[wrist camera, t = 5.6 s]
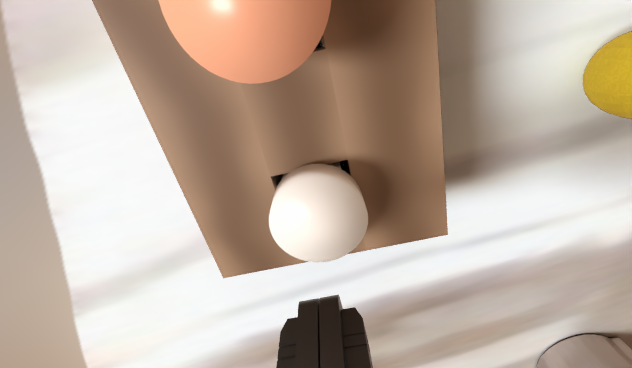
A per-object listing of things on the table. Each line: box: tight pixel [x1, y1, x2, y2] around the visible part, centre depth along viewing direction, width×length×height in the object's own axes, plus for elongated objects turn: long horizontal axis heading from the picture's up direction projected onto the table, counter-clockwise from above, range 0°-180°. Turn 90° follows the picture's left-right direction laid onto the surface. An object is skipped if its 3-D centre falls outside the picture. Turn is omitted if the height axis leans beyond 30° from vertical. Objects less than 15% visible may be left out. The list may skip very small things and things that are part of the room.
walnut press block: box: [92, 0, 448, 278], centre depth 20 cm, size 16×20×7 cm
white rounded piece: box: [269, 161, 368, 262], centre depth 21 cm, size 6×6×8 cm
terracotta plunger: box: [159, 0, 331, 84], centre depth 14 cm, size 6×6×8 cm
